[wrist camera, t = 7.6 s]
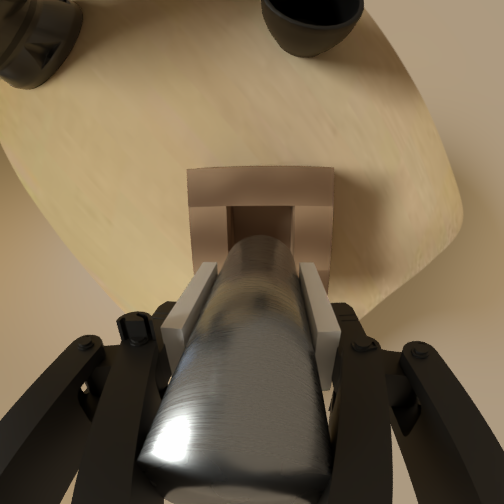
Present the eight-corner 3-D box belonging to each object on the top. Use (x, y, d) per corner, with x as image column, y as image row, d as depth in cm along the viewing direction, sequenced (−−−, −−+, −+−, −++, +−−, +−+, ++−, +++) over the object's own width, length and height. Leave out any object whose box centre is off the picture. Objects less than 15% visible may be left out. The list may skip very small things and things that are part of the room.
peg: (223, 235, 17) (104, 428, 4) (296, 234, 17) (361, 447, 3) (226, 300, 18) (163, 507, 5) (294, 300, 18) (318, 518, 5)
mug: (302, -18, 20) (311, -65, 11) (352, 58, 23) (382, 21, 14) (237, -1, 21) (226, -49, 12) (282, 78, 24) (288, 41, 15)
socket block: (203, 167, 28) (186, 169, 22) (320, 166, 27) (334, 167, 21) (209, 277, 31) (196, 301, 26) (316, 277, 30) (326, 302, 25)
